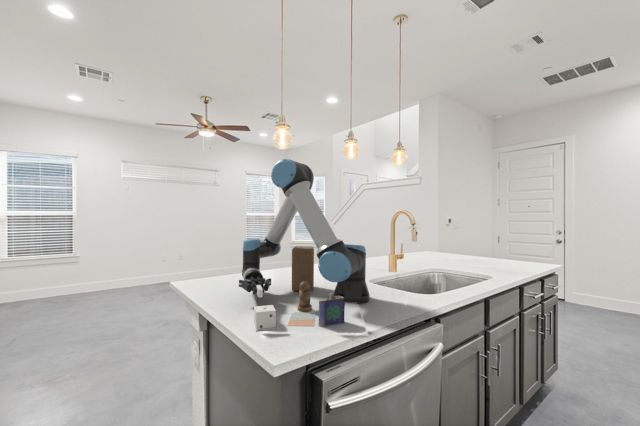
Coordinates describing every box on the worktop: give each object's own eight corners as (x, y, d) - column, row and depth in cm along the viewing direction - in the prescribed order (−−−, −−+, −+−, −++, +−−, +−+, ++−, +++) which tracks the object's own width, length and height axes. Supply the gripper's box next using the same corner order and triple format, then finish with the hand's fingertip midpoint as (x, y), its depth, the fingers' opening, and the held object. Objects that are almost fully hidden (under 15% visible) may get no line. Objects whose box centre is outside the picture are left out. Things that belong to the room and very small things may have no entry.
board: (317, 309, 113) (317, 307, 113) (315, 329, 93) (315, 326, 93) (293, 308, 113) (293, 306, 113) (286, 328, 94) (286, 326, 94)
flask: (320, 330, 93) (320, 295, 93) (316, 326, 95) (316, 293, 96) (346, 325, 97) (346, 292, 97) (341, 322, 100) (341, 290, 100)
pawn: (312, 307, 112) (312, 279, 112) (311, 312, 107) (311, 283, 107) (298, 307, 112) (298, 279, 112) (296, 312, 107) (297, 283, 107)
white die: (272, 323, 99) (272, 304, 99) (275, 329, 93) (275, 310, 93) (253, 325, 97) (254, 306, 97) (256, 332, 91) (256, 312, 91)
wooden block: (312, 291, 139) (313, 248, 139) (291, 291, 139) (291, 248, 139) (313, 286, 149) (314, 246, 149) (293, 286, 149) (293, 246, 149)
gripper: (268, 286, 128) (279, 302, 105) (237, 288, 123) (240, 305, 101) (269, 268, 128) (279, 281, 105) (237, 270, 123) (241, 283, 101)
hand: (260, 293), depth 103 cm, fingers closed
